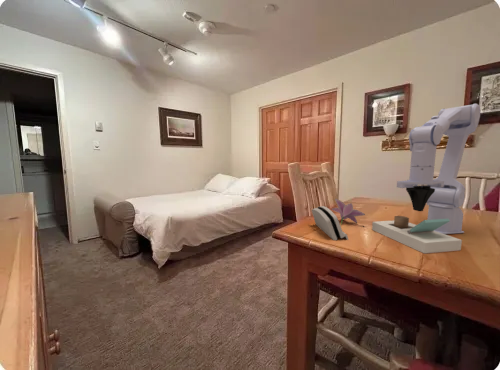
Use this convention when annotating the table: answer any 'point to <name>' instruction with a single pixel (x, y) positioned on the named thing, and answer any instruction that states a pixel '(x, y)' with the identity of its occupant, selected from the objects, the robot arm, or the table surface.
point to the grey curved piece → (328, 222)
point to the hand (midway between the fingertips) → (418, 210)
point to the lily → (347, 211)
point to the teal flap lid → (428, 225)
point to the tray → (418, 238)
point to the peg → (401, 222)
